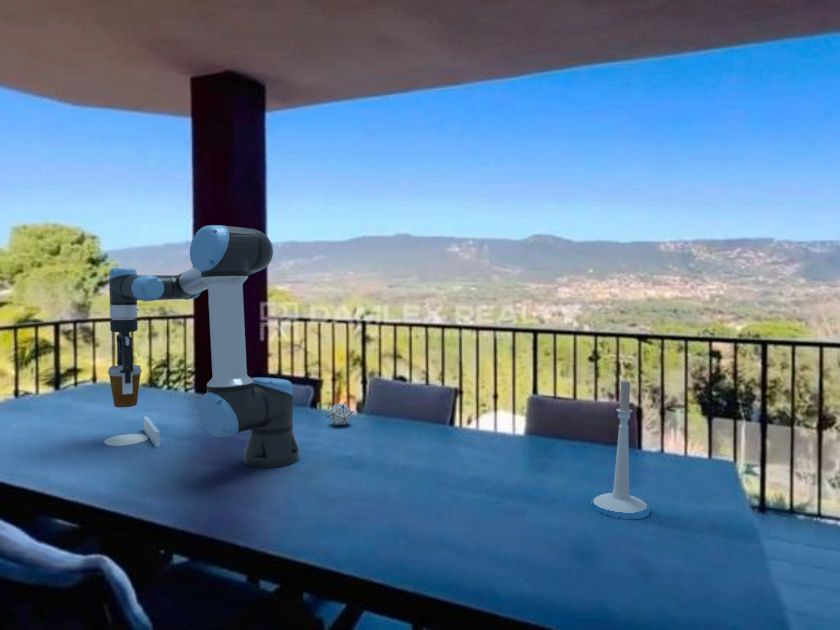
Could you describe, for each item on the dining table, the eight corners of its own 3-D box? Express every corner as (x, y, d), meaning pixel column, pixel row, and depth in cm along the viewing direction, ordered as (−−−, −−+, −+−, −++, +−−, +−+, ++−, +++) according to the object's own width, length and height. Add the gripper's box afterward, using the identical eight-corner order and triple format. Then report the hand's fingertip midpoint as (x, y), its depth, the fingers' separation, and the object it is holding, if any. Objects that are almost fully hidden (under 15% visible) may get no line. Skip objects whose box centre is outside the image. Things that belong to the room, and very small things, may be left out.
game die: (344, 437, 204) (351, 418, 198) (321, 427, 204) (327, 408, 198) (352, 419, 211) (359, 400, 206) (330, 410, 211) (336, 391, 205)
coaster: (150, 442, 182) (150, 441, 182) (106, 448, 175) (106, 447, 175) (144, 433, 192) (144, 432, 192) (102, 438, 185) (102, 437, 185)
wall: (160, 446, 178) (159, 431, 177) (155, 447, 177) (155, 432, 177) (147, 429, 196) (147, 416, 195) (143, 430, 195) (143, 416, 195)
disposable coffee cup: (117, 410, 176) (116, 370, 175) (102, 405, 182) (101, 367, 181) (148, 405, 183) (147, 366, 183) (133, 400, 189) (132, 363, 188)
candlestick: (604, 493, 145) (608, 372, 142) (658, 507, 136) (663, 379, 134) (582, 509, 135) (586, 379, 132) (638, 525, 127) (644, 386, 124)
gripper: (143, 321, 173) (144, 396, 175) (132, 315, 192) (133, 383, 193) (114, 321, 169) (116, 398, 171) (106, 316, 188) (107, 385, 189)
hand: (125, 390), depth 182 cm, fingers closed on disposable coffee cup, 9 cm apart
